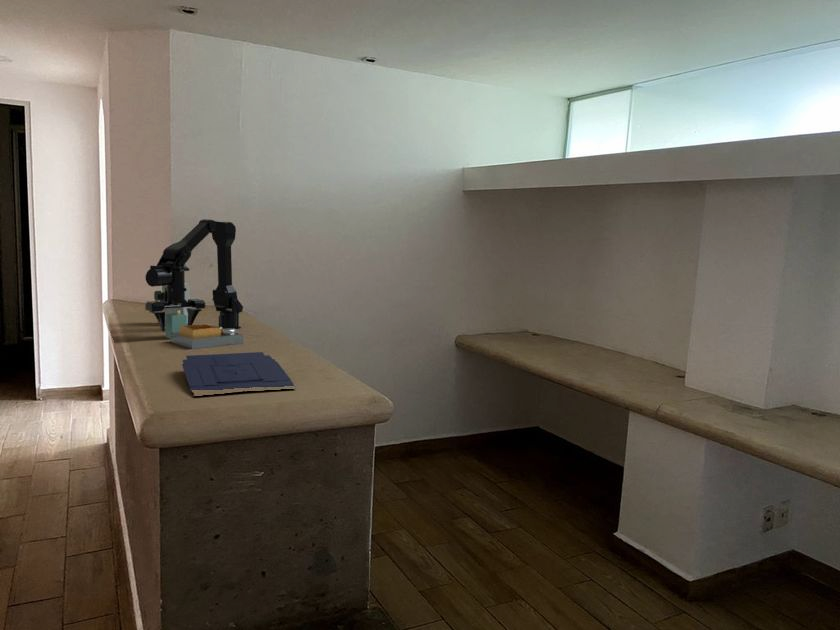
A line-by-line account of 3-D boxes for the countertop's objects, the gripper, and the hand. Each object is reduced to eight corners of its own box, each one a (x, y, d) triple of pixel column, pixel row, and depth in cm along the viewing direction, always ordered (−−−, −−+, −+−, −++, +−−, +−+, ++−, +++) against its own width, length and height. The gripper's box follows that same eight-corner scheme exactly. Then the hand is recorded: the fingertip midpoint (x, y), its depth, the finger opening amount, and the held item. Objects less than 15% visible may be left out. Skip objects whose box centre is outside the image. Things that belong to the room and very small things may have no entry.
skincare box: (191, 323, 253) (191, 283, 251) (183, 326, 246) (182, 284, 244) (170, 322, 254) (170, 282, 252) (162, 325, 247) (161, 283, 245)
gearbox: (220, 336, 227) (220, 321, 226) (243, 343, 217) (243, 327, 216) (170, 341, 214) (170, 325, 214) (192, 349, 204) (191, 331, 203)
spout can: (180, 336, 226) (179, 308, 225) (186, 338, 222) (186, 310, 221) (165, 337, 222) (165, 309, 221) (172, 339, 219) (172, 311, 218)
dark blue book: (268, 360, 186) (269, 348, 185) (296, 399, 160) (297, 385, 159) (178, 365, 175) (178, 352, 174) (192, 408, 149) (192, 393, 148)
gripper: (190, 281, 232) (191, 324, 234) (138, 283, 219) (138, 329, 221) (205, 284, 224) (206, 329, 226) (152, 286, 211) (153, 334, 213)
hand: (176, 330), depth 222 cm, fingers open, 9 cm apart
